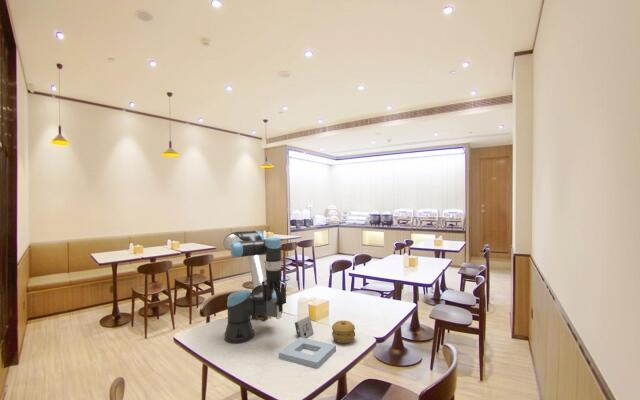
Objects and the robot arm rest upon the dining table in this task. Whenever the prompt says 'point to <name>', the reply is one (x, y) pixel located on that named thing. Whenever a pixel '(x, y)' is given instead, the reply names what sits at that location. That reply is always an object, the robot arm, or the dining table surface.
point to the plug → (272, 307)
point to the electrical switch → (304, 327)
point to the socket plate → (306, 359)
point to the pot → (343, 331)
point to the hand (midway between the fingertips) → (274, 317)
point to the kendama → (260, 316)
